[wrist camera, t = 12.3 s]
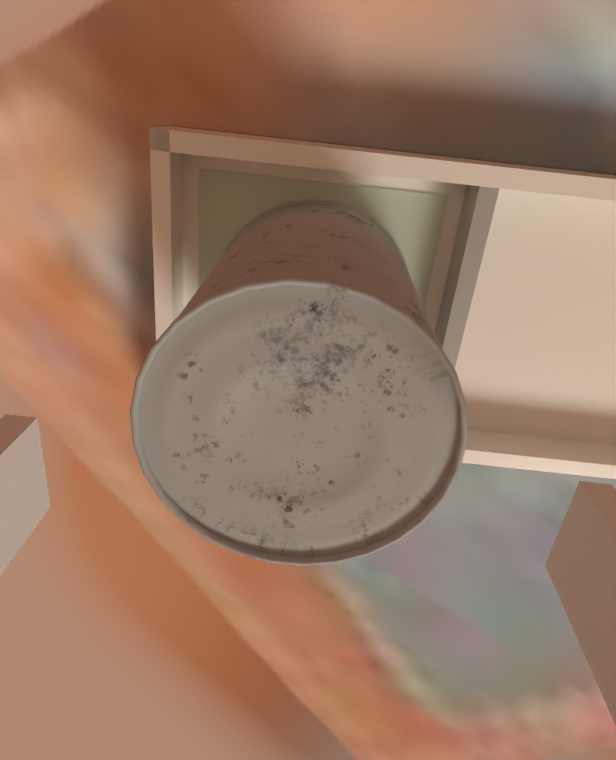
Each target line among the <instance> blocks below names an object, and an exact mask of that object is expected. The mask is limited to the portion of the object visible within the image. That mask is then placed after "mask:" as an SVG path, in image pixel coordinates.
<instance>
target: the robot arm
mask: <svg viewBox="0 0 616 760" xmlns="http://www.w3.org/2000/svg"><path fill="white" fill-rule="evenodd" d="M49 508H50V500H49V493H48V487H47V481H46V474H45V467H44V461H43V454H42V449H41V441H40V434H39V428H38V421H37V418H32V417H25V416H16V415H7V414H6V415H4V416H3V417H2V418H1V419H0V575H1V574H2V572H3V571H4V570H5V568H6V567H7V565H8V564H9V563H10V562H11V560H12V559H13V557H14V556H15V555H16V553H17V552H18V551H19V549H20V548H21V547H22V545H23V544H24V542H25V541H26V540H27V538H28V537H29V536H30V534H31V533H32V531H33V530H34V529H35V527H36V526H37V525H38V523H39V522H40V521H41V519H42V518H43V517H44V515H45V514H46V512H47V511H48V509H49ZM546 568H547V570H548V572H549V574H550V577H551V579H552V581H553V584H554V586H555V588H556V590H557V593H558V595H559V597H560V600H561V602H562V604H563V606H564V609H565V611H566V613H567V615H568V618H569V620H570V622H571V625H572V627H573V629H574V631H575V634H576V636H577V638H578V641H579V643H580V645H581V647H582V650H583V652H584V654H585V656H586V659H587V661H588V663H589V666H590V668H591V670H592V672H593V675H594V677H595V679H596V682H597V684H598V686H599V688H600V691H601V693H602V695H603V698H604V700H605V702H606V704H607V707H608V709H609V711H610V713H611V716H612V718H613V720H614V723H615V725H616V490H615V489H614V487H613V486H612V485H610V484H601V483H593V482H584V481H579V484H578V486H577V489H576V491H575V494H574V496H573V499H572V501H571V504H570V506H569V508H568V511H567V513H566V516H565V518H564V521H563V523H562V526H561V528H560V530H559V533H558V535H557V538H556V540H555V543H554V545H553V548H552V550H551V553H550V555H549V557H548V560H547V562H546Z"/></svg>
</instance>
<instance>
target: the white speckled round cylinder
mask: <svg viewBox="0 0 616 760" xmlns="http://www.w3.org/2000/svg"><path fill="white" fill-rule="evenodd" d="M130 416H131V427H132V438H133V445H134V448H135V451H136V454H137V457H138V459H139V462H140V465H141V468H142V471H143V474H144V475H145V477H146V478H147V480H148V481H149V483H150V485H151V486H152V488H153V489H154V491H155V492H156V494H157V496H158V497H159V499H160V500H161V501H162V502H163V503H164V504H165V505H166V506H167V507H168V508H169V509H170V510H171V511H172V512H173V513H174V514H175V515H176V516H177V517H178V518H179V520H180V521H181V522H182V523H184V524H185V525H187V526H188V527H189V528H191V529H192V530H194V531H195V532H197V533H198V534H200V535H201V536H203V537H204V538H206V539H207V540H208V541H210V542H212V543H214V544H217V545H219V546H221V547H223V548H226V549H228V550H230V551H232V552H235V553H237V554H239V555H242V556H246V557H250V558H254V559H258V560H262V561H266V562H270V563H278V564H289V565H301V566H308V565H321V564H333V563H340V562H344V561H348V560H351V559H355V558H359V557H363V556H367V555H370V554H372V553H374V552H376V551H379V550H381V549H383V548H385V547H387V546H389V545H392V544H394V543H396V542H398V541H399V540H401V539H402V538H404V537H405V536H406V535H408V534H409V533H410V532H412V531H413V530H415V529H416V528H417V527H419V526H420V525H422V524H423V523H424V522H425V521H426V520H427V519H428V518H429V516H430V515H431V514H432V513H433V512H434V511H435V510H436V509H437V507H438V506H439V505H440V504H441V503H442V502H443V501H444V500H445V498H446V496H447V494H448V492H449V491H450V489H451V487H452V485H453V483H454V481H455V479H456V478H457V476H458V474H459V472H460V469H461V465H462V461H463V457H464V453H465V449H466V445H467V441H468V431H467V405H466V402H465V399H464V395H463V392H462V389H461V385H460V382H459V379H458V375H457V373H456V371H455V369H454V367H453V366H452V364H451V363H450V361H449V359H448V358H447V356H446V354H445V353H444V351H443V350H442V348H441V346H440V343H439V341H438V339H437V337H436V334H435V332H434V330H433V328H432V325H431V323H430V321H429V319H428V316H427V314H426V312H425V310H424V307H423V305H422V303H421V300H420V298H419V296H418V294H417V291H416V289H415V287H414V285H413V282H412V280H411V278H410V275H409V272H408V269H407V266H406V263H405V260H404V257H403V255H402V254H401V252H400V250H399V249H398V247H397V245H396V244H395V242H394V241H393V239H392V238H391V237H390V236H389V235H388V234H387V232H386V231H385V230H384V229H383V228H382V227H381V226H380V225H379V224H378V223H377V222H376V221H374V220H372V219H371V218H369V217H367V216H366V215H364V214H363V213H361V212H359V211H358V210H356V209H354V208H351V207H347V206H344V205H341V204H338V203H335V202H331V201H319V200H303V201H296V202H290V203H284V204H282V205H279V206H277V207H275V208H272V209H270V210H267V211H265V212H263V213H261V214H260V215H259V216H257V217H256V218H254V219H253V220H252V221H250V222H249V223H247V224H246V225H245V226H244V227H243V228H242V229H241V230H240V231H239V233H238V234H237V235H236V236H235V237H234V238H233V240H232V241H231V242H230V243H229V245H228V247H227V249H226V251H225V253H224V255H223V256H222V258H221V259H220V260H219V262H218V263H217V264H216V266H215V267H214V268H213V270H212V271H211V273H210V274H209V275H208V277H207V278H206V279H205V281H204V282H203V283H202V285H201V286H200V288H199V289H198V290H197V292H196V293H195V294H194V296H193V297H192V298H191V300H190V301H189V302H188V304H187V305H186V307H185V308H184V309H183V311H182V312H181V313H180V315H179V316H178V317H177V318H176V319H175V320H174V321H173V322H172V323H171V324H170V326H169V327H168V328H167V329H166V330H165V331H164V333H163V334H162V335H161V336H160V337H159V338H158V339H157V341H156V342H155V343H154V344H153V345H152V347H151V348H150V350H149V352H148V354H147V356H146V358H145V361H144V363H143V365H142V367H141V369H140V371H139V373H138V375H137V377H136V380H135V386H134V392H133V397H132V403H131V408H130Z"/></svg>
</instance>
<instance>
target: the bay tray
mask: <svg viewBox="0 0 616 760" xmlns="http://www.w3.org/2000/svg"><path fill="white" fill-rule="evenodd" d="M149 141H150V172H151V203H152V233H153V264H154V295H155V325H156V341H157V339H158V338H159V337H160V336H161V335H162V334H163V333H164V331H165V330H166V329H167V328H168V327H169V326H170V324H171V323H172V322H173V321H174V320H175V319H176V318H177V317H178V316H179V315H180V313H181V312H182V311H183V309H184V308H185V307H186V305H187V304H188V302H189V301H190V300H191V298H192V297H193V296H194V294H195V293H196V292H197V290H198V289H199V288H200V286H201V285H202V283H203V282H204V281H205V279H206V278H207V277H208V275H209V274H210V273H211V271H212V270H213V268H214V267H215V266H216V264H217V263H218V262H219V260H220V259H221V258H222V256H223V255H224V253H225V251H226V249H227V247H228V245H229V243H230V242H231V241H232V240H233V238H234V237H235V236H236V235H237V234H238V233H239V231H240V230H241V229H242V228H243V227H244V226H245V225H246V224H247V223H249V222H250V221H252V220H253V219H254V218H256V217H257V216H259V215H260V214H261V213H263V212H265V211H267V210H270V209H272V208H275V207H277V206H279V205H282V204H284V203H290V202H296V201H303V200H319V201H331V202H335V203H338V204H341V205H344V206H347V207H351V208H354V209H356V210H358V211H359V212H361V213H363V214H364V215H366V216H367V217H369V218H371V219H372V220H374V221H376V222H377V223H378V224H379V225H380V226H381V227H382V228H383V229H384V230H385V231H386V232H387V234H388V235H389V236H390V237H391V238H392V239H393V241H394V242H395V244H396V245H397V247H398V249H399V250H400V252H401V254H402V255H403V257H404V260H405V263H406V266H407V269H408V272H409V275H410V278H411V280H412V282H413V285H414V287H415V289H416V291H417V294H418V296H419V298H420V300H421V303H422V305H423V307H424V310H425V312H426V314H427V316H428V319H429V321H430V323H431V325H432V328H433V330H434V332H435V334H436V337H437V339H438V341H439V343H440V346H441V348H442V350H443V351H444V353H445V354H446V356H447V358H448V359H449V361H450V363H451V364H452V366H453V367H454V369H455V371H456V373H457V375H458V379H459V382H460V385H461V389H462V392H463V395H464V399H465V402H466V405H467V431H468V441H467V445H466V449H465V453H464V457H463V461H462V463H471V464H480V465H489V466H499V467H508V468H517V469H527V470H536V471H545V472H555V473H564V474H574V475H583V476H592V477H602V478H611V479H616V175H608V174H599V173H590V172H581V171H572V170H563V169H554V168H545V167H536V166H527V165H518V164H508V163H499V162H490V161H481V160H472V159H463V158H454V157H445V156H436V155H427V154H418V153H409V152H400V151H391V150H382V149H372V148H363V147H354V146H345V145H336V144H327V143H318V142H309V141H300V140H291V139H282V138H273V137H264V136H255V135H246V134H237V133H227V132H218V131H209V130H200V129H191V128H182V127H173V126H161V127H153V128H149Z"/></svg>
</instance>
